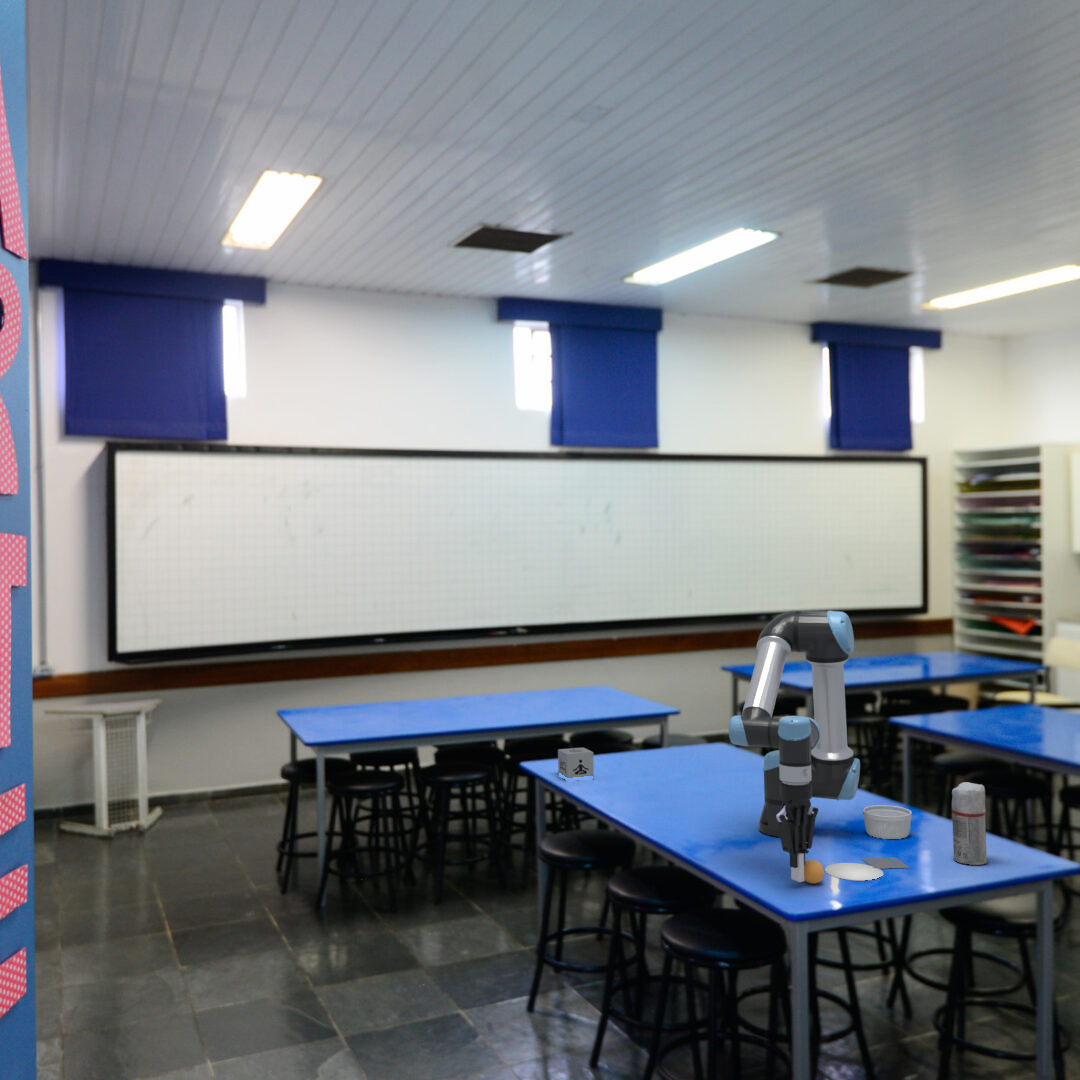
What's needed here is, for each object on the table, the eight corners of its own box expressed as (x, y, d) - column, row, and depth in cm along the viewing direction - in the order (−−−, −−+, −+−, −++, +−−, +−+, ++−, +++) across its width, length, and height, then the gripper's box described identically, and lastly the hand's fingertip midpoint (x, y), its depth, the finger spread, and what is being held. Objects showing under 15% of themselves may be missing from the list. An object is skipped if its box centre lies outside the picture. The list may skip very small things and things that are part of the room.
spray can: (988, 867, 256) (986, 788, 257) (953, 864, 259) (951, 786, 260) (986, 858, 264) (985, 781, 264) (952, 855, 267) (951, 779, 267)
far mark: (861, 859, 265) (861, 858, 265) (895, 857, 266) (895, 857, 266) (874, 869, 256) (874, 868, 256) (909, 868, 257) (909, 867, 257)
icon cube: (558, 776, 372) (558, 749, 372) (584, 774, 375) (583, 747, 375) (567, 782, 363) (567, 754, 363) (593, 780, 366) (593, 752, 366)
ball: (803, 878, 250) (803, 855, 250) (826, 881, 248) (825, 858, 248) (798, 884, 245) (798, 862, 245) (821, 887, 243) (821, 864, 243)
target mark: (830, 861, 264) (830, 860, 264) (887, 867, 258) (887, 866, 258) (819, 876, 251) (819, 875, 251) (878, 883, 245) (878, 882, 245)
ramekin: (880, 843, 280) (880, 818, 280) (853, 831, 293) (853, 807, 293) (922, 839, 284) (921, 814, 284) (893, 827, 296) (893, 803, 296)
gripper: (788, 788, 238) (790, 889, 237) (826, 780, 245) (828, 879, 244) (764, 782, 244) (766, 881, 243) (802, 775, 251) (805, 871, 250)
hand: (797, 880), depth 244 cm, fingers closed
